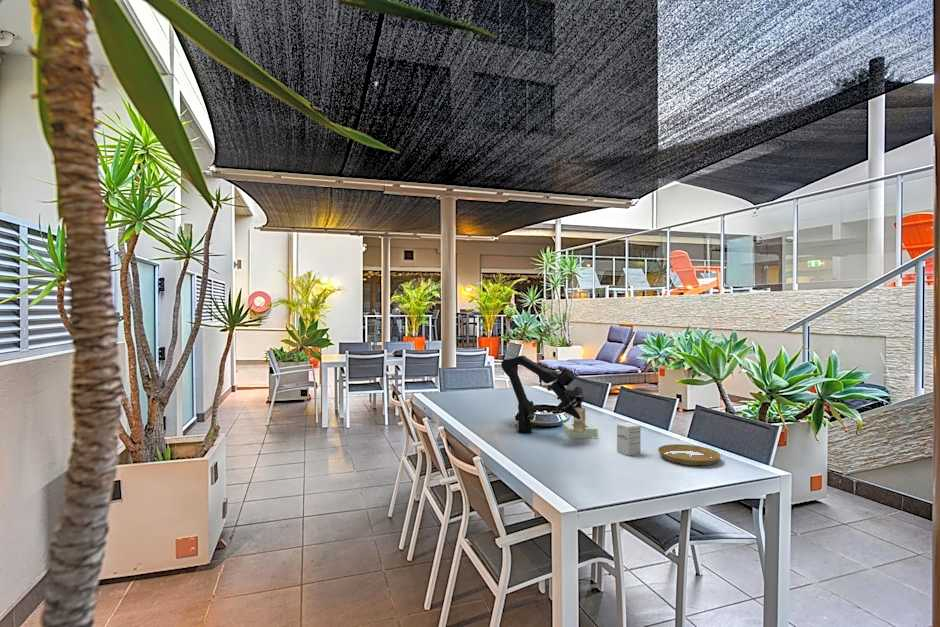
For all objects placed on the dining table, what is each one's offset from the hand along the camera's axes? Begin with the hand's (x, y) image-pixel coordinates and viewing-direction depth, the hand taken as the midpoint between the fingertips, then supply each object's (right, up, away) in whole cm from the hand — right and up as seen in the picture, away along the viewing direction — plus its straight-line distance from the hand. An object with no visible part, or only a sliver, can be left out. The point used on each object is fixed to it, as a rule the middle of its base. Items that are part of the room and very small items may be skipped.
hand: (582, 417), depth 231 cm
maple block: (-1, -7, +1) cm, 7 cm away
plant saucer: (+39, -12, -25) cm, 48 cm away
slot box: (+2, -12, +15) cm, 19 cm away
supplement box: (+17, -12, -16) cm, 26 cm away
